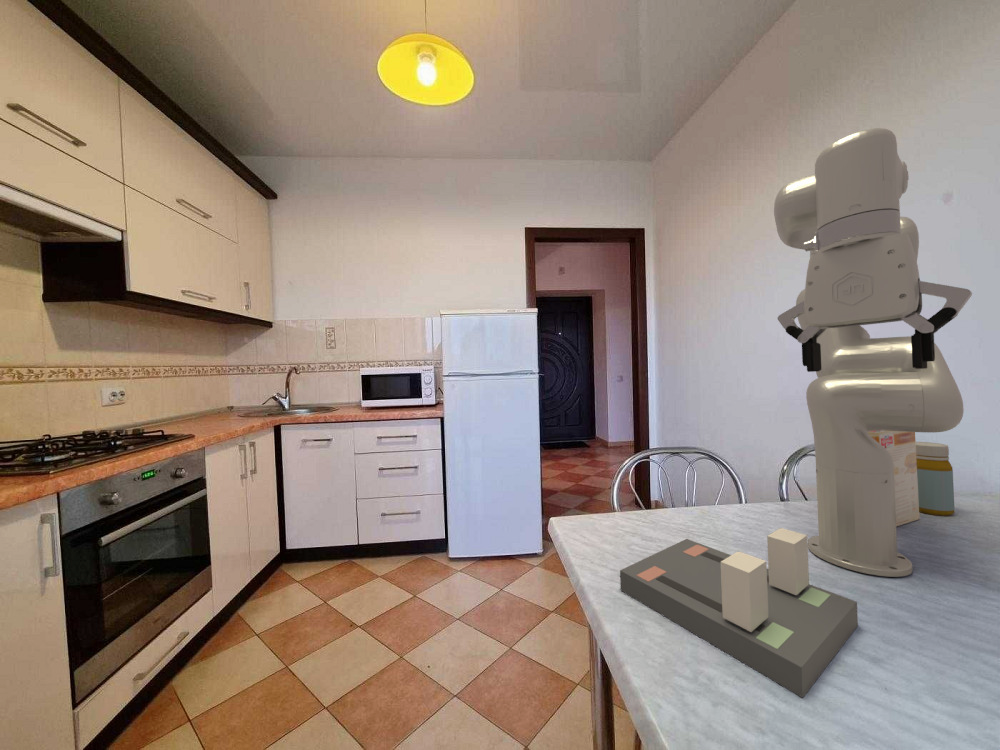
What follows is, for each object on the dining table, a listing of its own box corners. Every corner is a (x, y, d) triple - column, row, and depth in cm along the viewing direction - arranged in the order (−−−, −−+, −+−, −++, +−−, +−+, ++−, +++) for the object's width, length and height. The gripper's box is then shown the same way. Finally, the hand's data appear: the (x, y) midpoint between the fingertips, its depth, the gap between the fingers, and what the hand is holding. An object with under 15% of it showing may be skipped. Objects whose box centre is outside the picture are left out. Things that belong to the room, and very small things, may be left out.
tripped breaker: (740, 603, 45) (738, 551, 45) (768, 617, 42) (766, 561, 42) (722, 617, 42) (720, 561, 42) (751, 632, 40) (748, 572, 40)
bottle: (965, 517, 76) (962, 447, 76) (925, 516, 77) (922, 446, 77) (933, 505, 82) (930, 441, 83) (896, 504, 84) (894, 441, 84)
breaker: (782, 574, 51) (780, 527, 51) (809, 583, 48) (807, 535, 48) (769, 584, 48) (767, 535, 49) (796, 595, 46) (794, 544, 46)
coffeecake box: (876, 508, 82) (873, 424, 82) (922, 519, 75) (917, 427, 75) (837, 519, 77) (833, 429, 77) (882, 532, 70) (877, 433, 70)
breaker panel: (687, 555, 63) (686, 538, 63) (857, 625, 45) (856, 601, 45) (620, 590, 54) (619, 570, 54) (802, 697, 35) (801, 666, 35)
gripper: (765, 253, 51) (770, 372, 51) (962, 200, 36) (970, 367, 36) (786, 261, 55) (791, 372, 55) (972, 216, 40) (979, 366, 40)
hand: (862, 370), depth 45 cm, fingers open, 9 cm apart
